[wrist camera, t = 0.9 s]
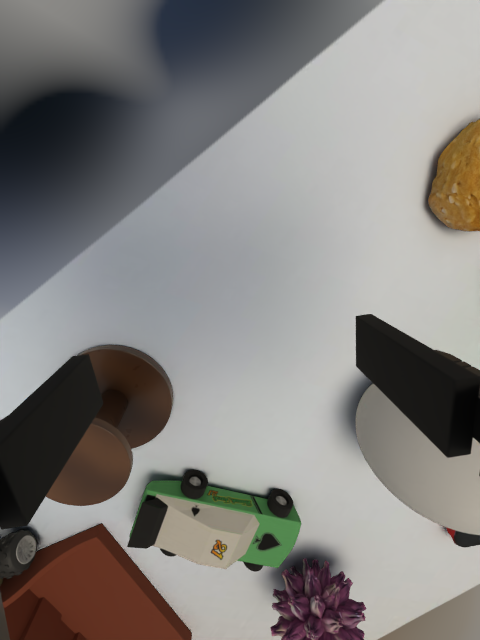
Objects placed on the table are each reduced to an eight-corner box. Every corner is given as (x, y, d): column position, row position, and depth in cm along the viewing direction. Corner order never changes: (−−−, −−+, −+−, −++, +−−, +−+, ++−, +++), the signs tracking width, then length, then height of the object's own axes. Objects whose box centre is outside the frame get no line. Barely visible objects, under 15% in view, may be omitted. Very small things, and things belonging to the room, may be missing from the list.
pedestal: (80, 325, 31) (19, 371, 21) (191, 372, 33) (181, 431, 23) (43, 420, 33) (-26, 498, 24) (147, 457, 36) (123, 541, 26)
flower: (349, 561, 46) (292, 621, 45) (303, 520, 42) (239, 585, 41) (411, 656, 35) (336, 738, 34) (356, 612, 31) (270, 703, 30)
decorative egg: (410, 458, 39) (524, 594, 24) (324, 433, 37) (393, 567, 22) (462, 375, 36) (627, 475, 21) (371, 343, 34) (486, 430, 19)
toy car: (273, 552, 42) (281, 594, 37) (131, 525, 38) (120, 568, 34) (303, 494, 39) (315, 531, 34) (153, 459, 36) (144, 495, 31)
